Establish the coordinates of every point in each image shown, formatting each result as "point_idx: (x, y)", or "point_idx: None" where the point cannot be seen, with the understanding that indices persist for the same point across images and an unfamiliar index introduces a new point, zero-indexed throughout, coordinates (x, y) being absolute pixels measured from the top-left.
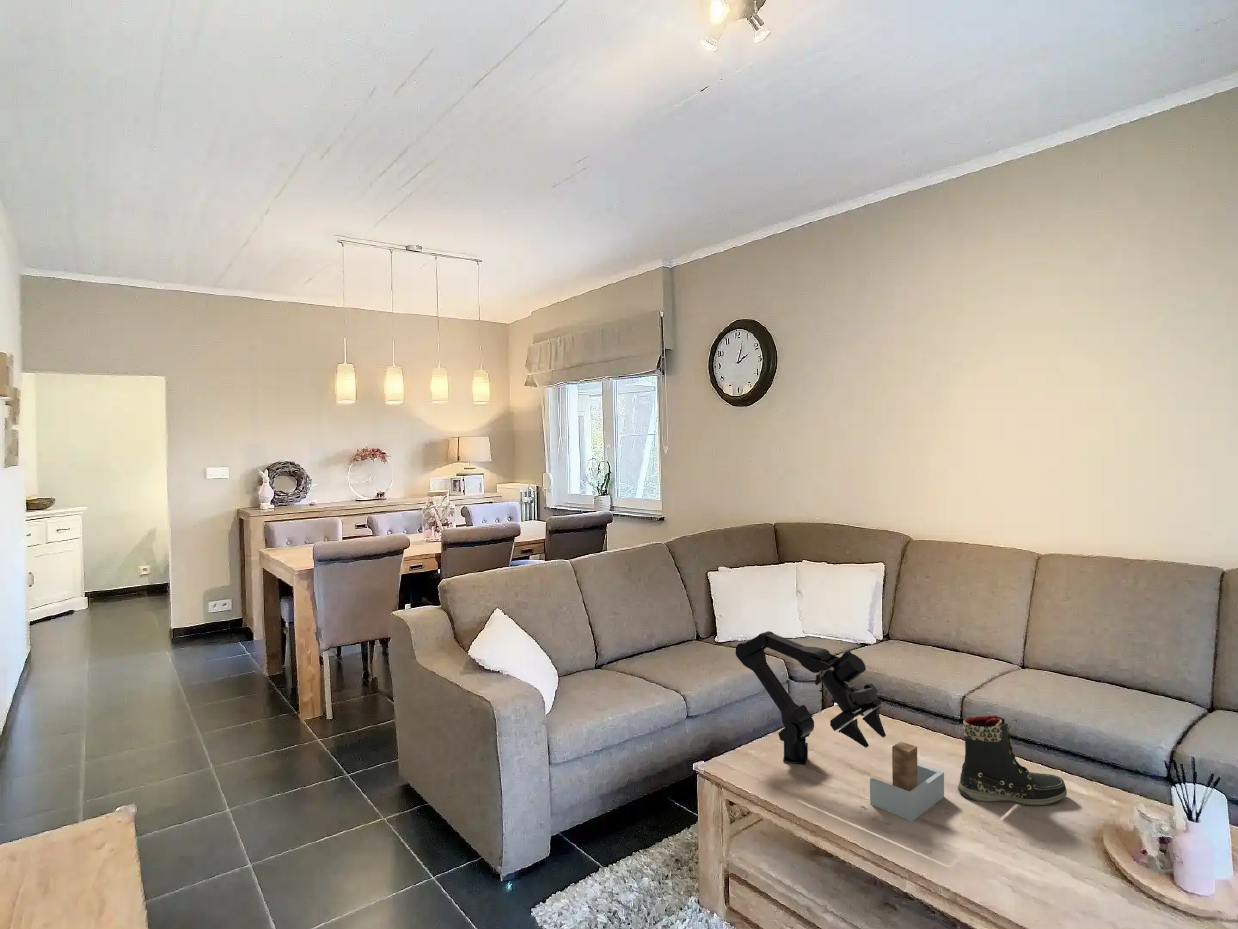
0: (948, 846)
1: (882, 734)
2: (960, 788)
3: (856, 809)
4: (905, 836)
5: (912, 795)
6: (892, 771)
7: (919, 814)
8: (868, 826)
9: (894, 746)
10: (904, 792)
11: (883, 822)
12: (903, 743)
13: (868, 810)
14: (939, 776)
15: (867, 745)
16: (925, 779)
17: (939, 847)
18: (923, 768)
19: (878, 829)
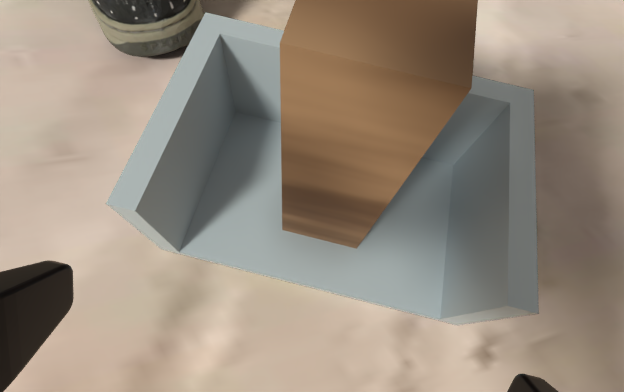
0: (516, 60)
1: (45, 303)
2: (171, 35)
3: (527, 373)
4: (562, 161)
5: (526, 90)
6: (391, 199)
7: None
8: (607, 284)
9: (455, 68)
10: (533, 120)
11: (537, 242)
12: (317, 14)
13: (496, 321)
14: (252, 26)
15: (550, 388)
16: (209, 117)
17: (540, 76)
18: (195, 91)
19: (595, 246)
